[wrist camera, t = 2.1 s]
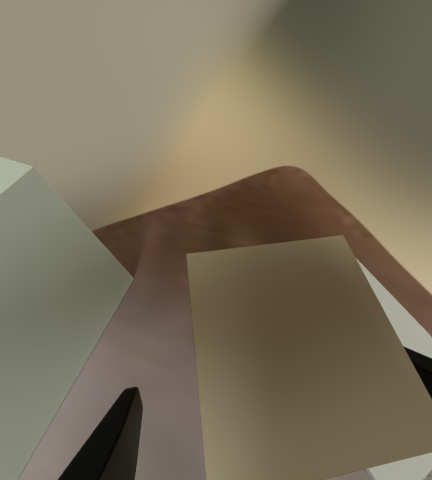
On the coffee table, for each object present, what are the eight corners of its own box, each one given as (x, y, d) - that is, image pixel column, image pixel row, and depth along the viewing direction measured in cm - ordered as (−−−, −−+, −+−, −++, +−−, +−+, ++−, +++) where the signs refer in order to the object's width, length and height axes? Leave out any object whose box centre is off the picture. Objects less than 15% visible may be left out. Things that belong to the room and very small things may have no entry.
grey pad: (481, 398, 14) (491, 399, 14) (387, 504, 12) (395, 511, 11) (350, 259, 20) (354, 256, 19) (264, 311, 17) (266, 310, 16)
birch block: (272, 382, 15) (457, 446, 4) (204, 395, 14) (189, 512, 3) (256, 316, 17) (343, 235, 6) (197, 325, 16) (175, 255, 5)
